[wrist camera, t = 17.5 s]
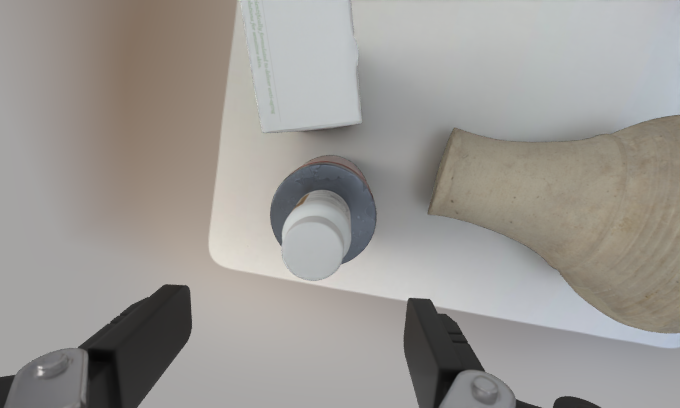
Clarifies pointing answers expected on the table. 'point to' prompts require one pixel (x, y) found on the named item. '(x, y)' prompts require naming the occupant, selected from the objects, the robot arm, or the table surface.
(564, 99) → the table surface
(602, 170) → the vase
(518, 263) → the table surface
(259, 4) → the cosmetic box
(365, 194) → the tin can
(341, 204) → the pill bottle
